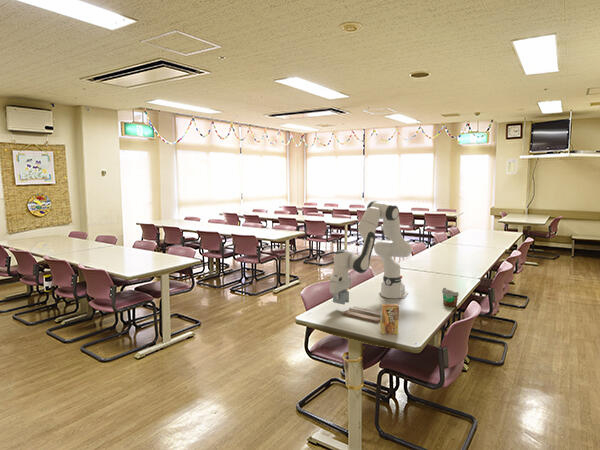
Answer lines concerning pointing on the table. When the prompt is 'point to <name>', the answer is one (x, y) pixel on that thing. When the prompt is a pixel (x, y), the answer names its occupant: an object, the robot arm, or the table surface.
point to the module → (341, 297)
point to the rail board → (363, 314)
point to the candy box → (389, 319)
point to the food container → (450, 298)
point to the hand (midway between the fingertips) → (340, 297)
